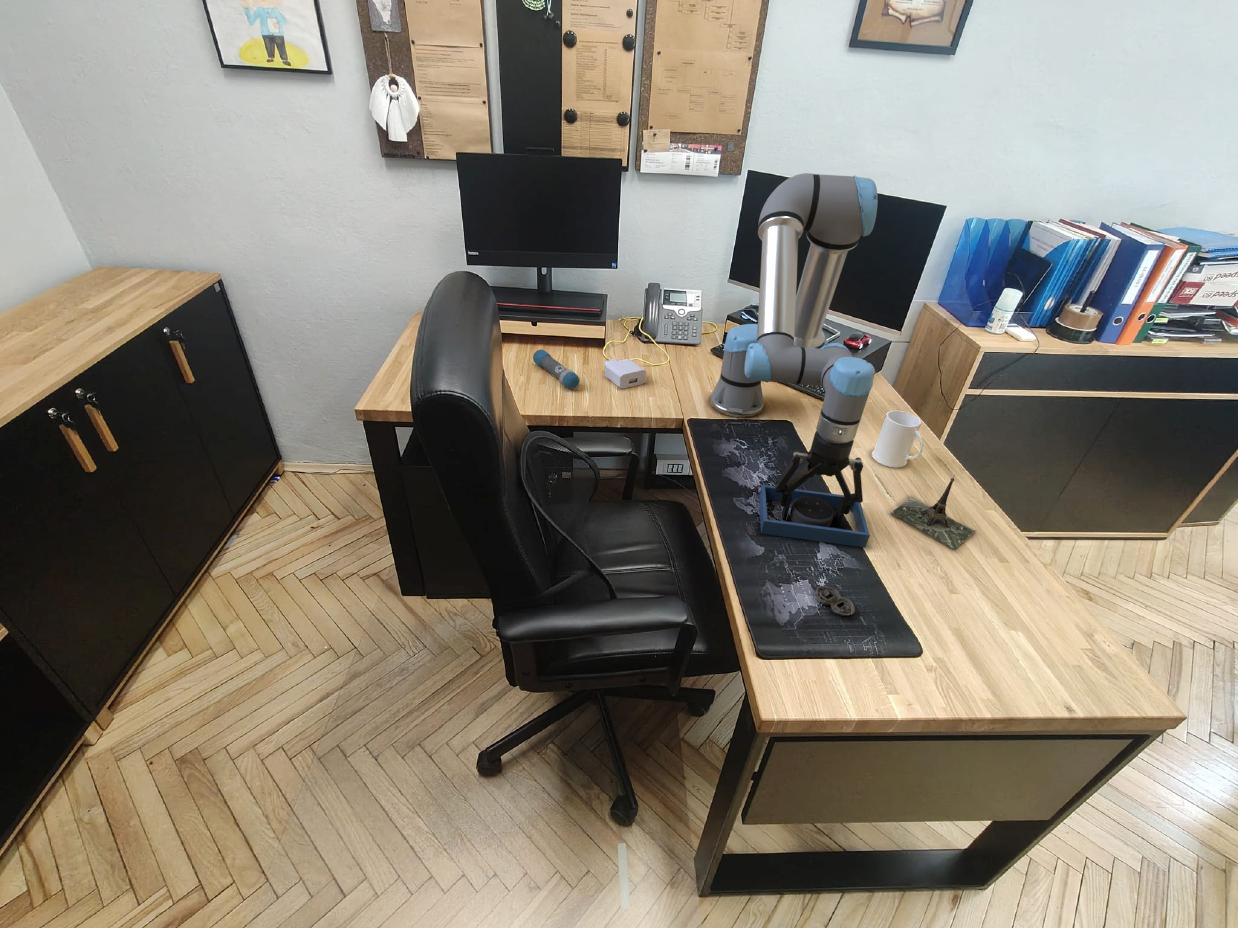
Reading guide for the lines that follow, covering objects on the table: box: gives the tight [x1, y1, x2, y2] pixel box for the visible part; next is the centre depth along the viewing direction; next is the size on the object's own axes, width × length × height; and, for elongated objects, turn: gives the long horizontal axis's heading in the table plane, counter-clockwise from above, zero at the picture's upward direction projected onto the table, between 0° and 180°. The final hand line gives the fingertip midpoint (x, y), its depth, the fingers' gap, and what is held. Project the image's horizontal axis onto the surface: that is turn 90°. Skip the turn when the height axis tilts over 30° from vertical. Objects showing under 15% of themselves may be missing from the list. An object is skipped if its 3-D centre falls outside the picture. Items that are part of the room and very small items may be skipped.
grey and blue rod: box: [532, 349, 580, 390], centre depth 181 cm, size 5×22×5 cm, turn 35°
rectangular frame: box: [758, 484, 871, 548], centre depth 129 cm, size 13×22×4 cm, turn 81°
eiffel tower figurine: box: [890, 474, 976, 551], centre depth 128 cm, size 15×10×13 cm
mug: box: [871, 409, 925, 469], centre depth 148 cm, size 12×8×12 cm
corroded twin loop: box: [815, 585, 856, 617], centre depth 110 cm, size 5×8×1 cm, turn 34°
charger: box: [603, 358, 647, 389], centre depth 184 cm, size 5×9×15 cm
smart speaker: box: [789, 496, 835, 528], centre depth 129 cm, size 9×9×4 cm
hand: (809, 520), depth 130 cm, fingers open, 11 cm apart
